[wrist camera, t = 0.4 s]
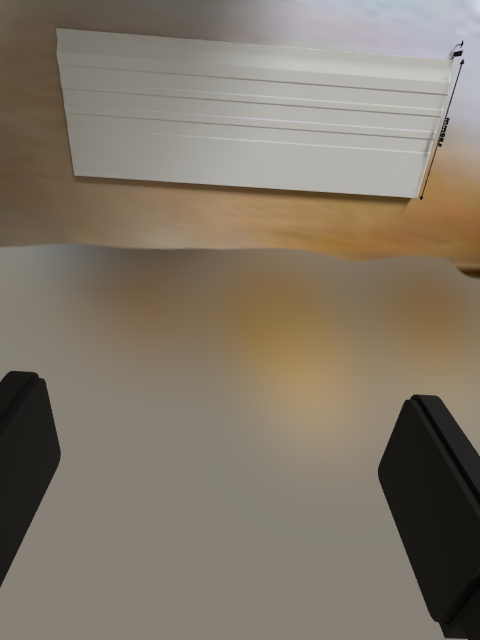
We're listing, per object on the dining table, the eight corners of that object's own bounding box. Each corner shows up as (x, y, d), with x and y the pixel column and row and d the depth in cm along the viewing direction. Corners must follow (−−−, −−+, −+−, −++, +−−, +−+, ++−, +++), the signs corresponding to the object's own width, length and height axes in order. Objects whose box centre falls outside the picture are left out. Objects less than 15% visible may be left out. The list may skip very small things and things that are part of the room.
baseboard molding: (57, 5, 29) (80, 172, 35) (40, -3, 27) (68, 178, 33) (455, 39, 30) (411, 194, 36) (475, 34, 28) (424, 202, 34)
